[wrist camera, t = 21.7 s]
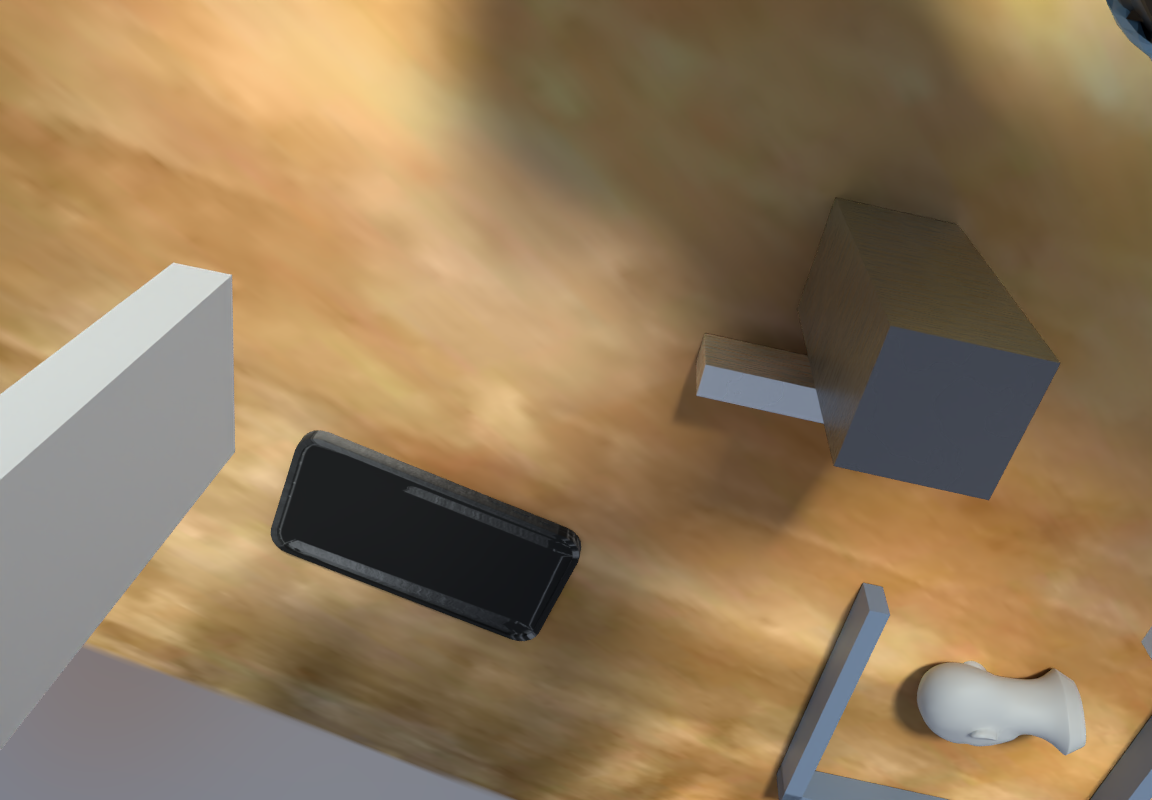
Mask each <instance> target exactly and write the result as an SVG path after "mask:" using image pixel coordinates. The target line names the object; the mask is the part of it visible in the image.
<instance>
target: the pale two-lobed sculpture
mask: <svg viewBox="0 0 1152 800" xmlns="http://www.w3.org/2000/svg"><path fill="white" fill-rule="evenodd" d="M917 704H918V707H919V710H920V713H921V715H922V717H923V719H924V721H925V723H926V724H927V726H928V727H929V728H930V729H931V730H932V731H933V732H934V733H935V734H937V735H938V736H940V737H941V738H943V739H945V740H948V741H950V742H953V743H964V744H970V745H974V746H989V745H995V744H1000V743H1004V742H1008V741H1011V740H1013V739H1015V738H1016V737H1018V736H1019V735H1023V734H1028V735H1033V736H1037V737H1040V738H1042V739H1045V740H1047V741H1048V742H1050V743H1051V744H1053V745H1054V746H1055V747H1056V748H1057V749H1058V750H1059V751H1060V752H1061V753H1062V754H1064V755H1067V754H1069V753H1071V752H1074V751H1076V750H1078V749H1080V748H1082V747H1084V746H1085V743H1086V728H1085V719H1084V711H1083V706H1082V701H1081V697H1080V694H1079V691H1078V689H1077V686H1076V684H1075V682H1074V681H1073V680H1071V679H1070V678H1068V677H1067V676H1065V675H1064V674H1062V673H1061V672H1059V671H1058V670H1056V669H1055V668H1052V669H1051V670H1050V671H1049V672H1048V673H1046V674H1045V675H1044V676H1042V677H1040V678H1036V679H1015V678H1008V677H1001V676H996V675H993V674H991V673H989V672H987V671H986V669H985V668H984V667H983V666H982V665H981V664H979V663H977V662H974V661H967V662H964V663H957V662H948V663H942V664H939V665H936V666H934V667H932V668H931V669H929V670H928V671H927V672H926V673H925V674H924V676H923V677H922V679H921V681H920V684H919V687H918V692H917Z"/></svg>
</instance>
